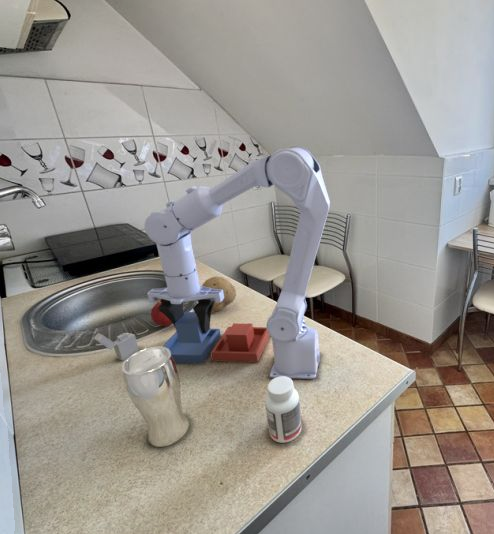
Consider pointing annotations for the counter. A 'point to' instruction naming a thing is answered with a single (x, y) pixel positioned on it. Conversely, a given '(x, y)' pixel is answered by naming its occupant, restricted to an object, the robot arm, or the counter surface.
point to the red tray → (253, 355)
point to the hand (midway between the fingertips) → (194, 330)
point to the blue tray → (192, 348)
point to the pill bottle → (283, 410)
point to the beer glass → (156, 394)
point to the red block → (240, 337)
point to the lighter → (120, 344)
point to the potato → (227, 290)
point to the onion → (159, 316)
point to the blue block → (189, 329)
